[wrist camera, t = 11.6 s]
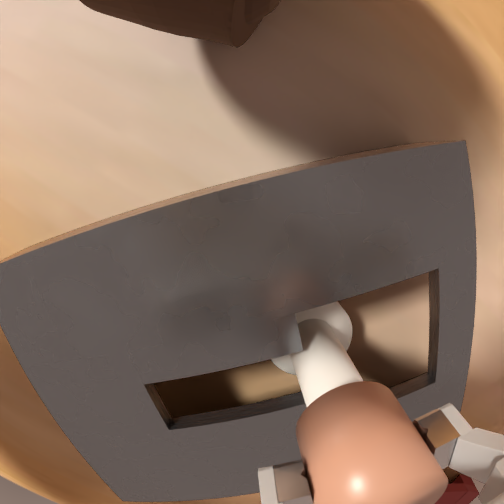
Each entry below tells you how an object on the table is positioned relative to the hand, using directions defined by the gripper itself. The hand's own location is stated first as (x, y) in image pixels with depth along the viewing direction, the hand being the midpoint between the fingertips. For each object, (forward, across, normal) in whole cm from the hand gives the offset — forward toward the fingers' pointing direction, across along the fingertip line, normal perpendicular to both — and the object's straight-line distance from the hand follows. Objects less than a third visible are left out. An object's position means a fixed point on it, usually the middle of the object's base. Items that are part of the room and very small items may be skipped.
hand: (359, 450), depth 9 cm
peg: (+10, 0, 0) cm, 10 cm away
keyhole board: (+10, +3, 0) cm, 11 cm away
